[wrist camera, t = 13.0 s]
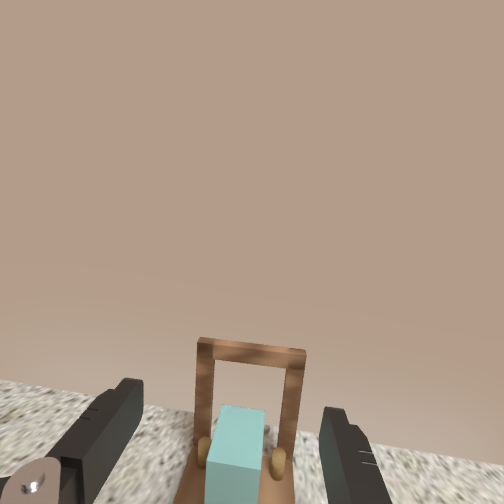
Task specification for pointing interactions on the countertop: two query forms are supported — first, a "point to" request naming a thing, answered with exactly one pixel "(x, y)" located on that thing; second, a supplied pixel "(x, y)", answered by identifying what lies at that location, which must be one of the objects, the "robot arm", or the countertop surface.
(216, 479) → the teal block
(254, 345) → the peg shelf
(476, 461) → the countertop surface
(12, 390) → the countertop surface
